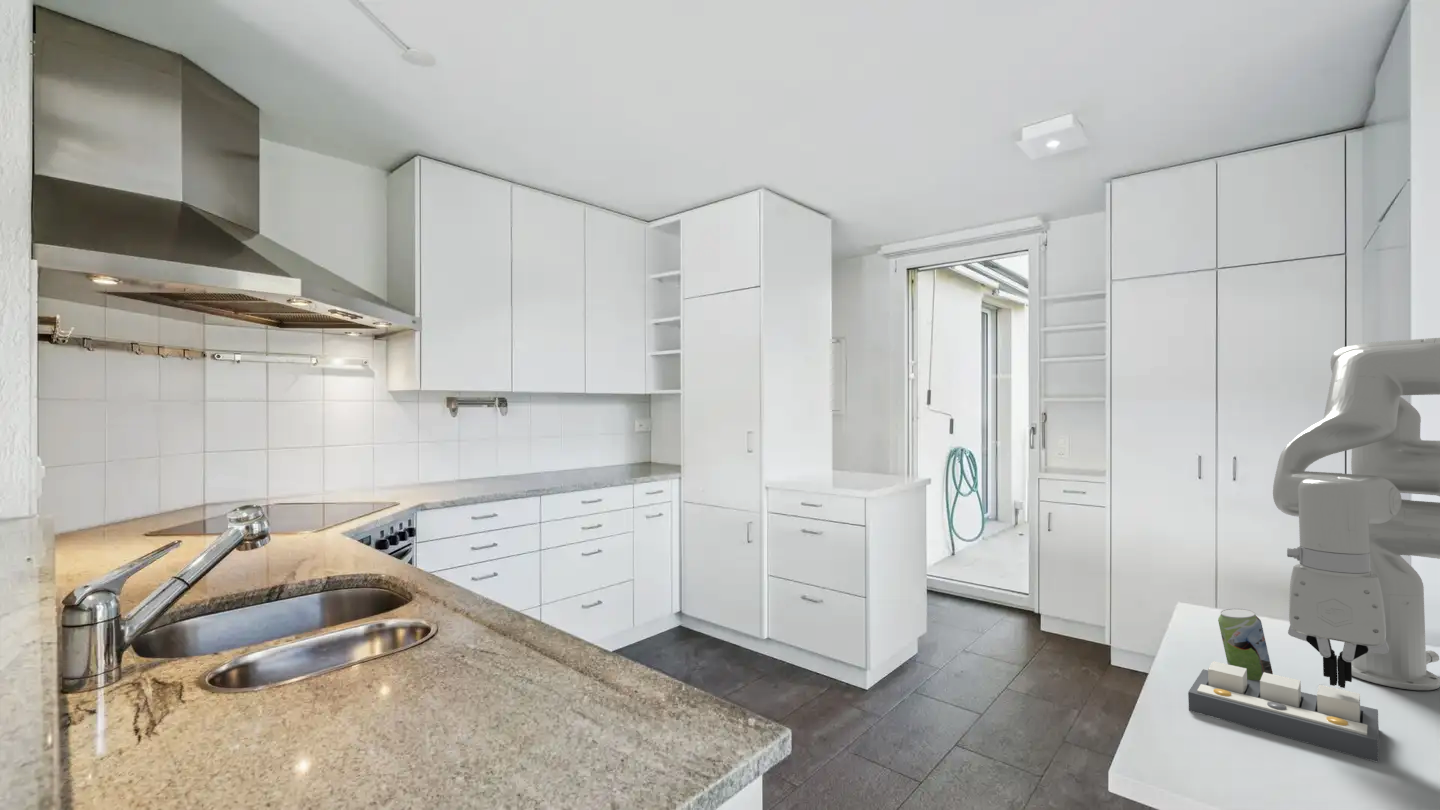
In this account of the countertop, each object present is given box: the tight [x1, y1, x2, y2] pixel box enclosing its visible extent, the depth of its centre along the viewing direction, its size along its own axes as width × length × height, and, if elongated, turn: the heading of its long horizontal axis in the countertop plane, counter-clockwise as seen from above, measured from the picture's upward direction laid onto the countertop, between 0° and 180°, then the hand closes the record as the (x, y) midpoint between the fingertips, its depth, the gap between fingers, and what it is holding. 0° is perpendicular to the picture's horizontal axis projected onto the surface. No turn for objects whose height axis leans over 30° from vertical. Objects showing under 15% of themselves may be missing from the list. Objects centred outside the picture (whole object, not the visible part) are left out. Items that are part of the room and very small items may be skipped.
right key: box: [1316, 684, 1361, 722], centre depth 93 cm, size 4×4×3 cm
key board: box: [1187, 668, 1380, 763], centre depth 97 cm, size 12×21×4 cm, turn 43°
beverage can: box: [1217, 608, 1274, 682], centre depth 111 cm, size 6×7×12 cm
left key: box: [1207, 660, 1247, 694], centre depth 103 cm, size 4×4×3 cm
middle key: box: [1260, 672, 1302, 707], centre depth 98 cm, size 4×4×3 cm
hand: (1337, 683), depth 93 cm, fingers closed
